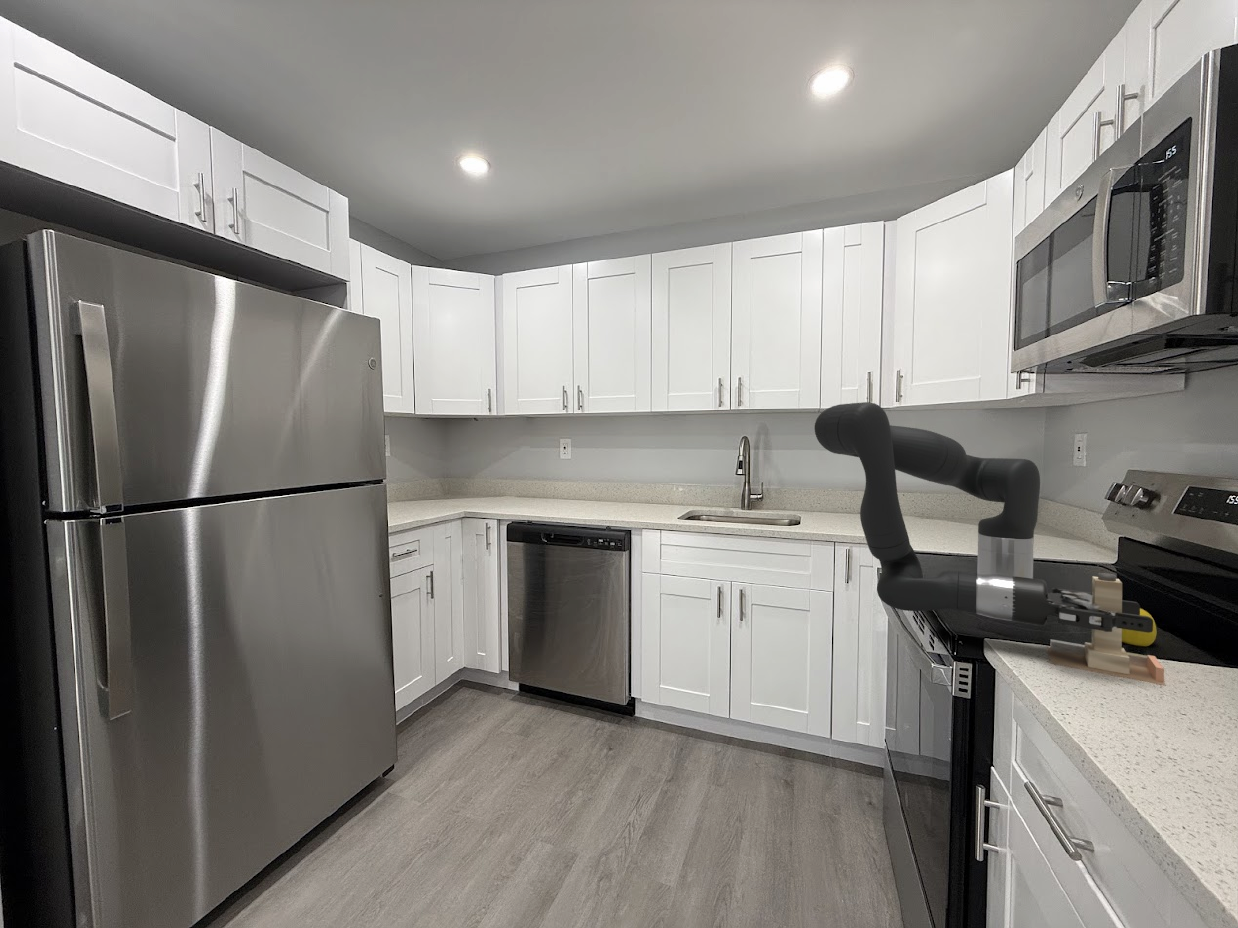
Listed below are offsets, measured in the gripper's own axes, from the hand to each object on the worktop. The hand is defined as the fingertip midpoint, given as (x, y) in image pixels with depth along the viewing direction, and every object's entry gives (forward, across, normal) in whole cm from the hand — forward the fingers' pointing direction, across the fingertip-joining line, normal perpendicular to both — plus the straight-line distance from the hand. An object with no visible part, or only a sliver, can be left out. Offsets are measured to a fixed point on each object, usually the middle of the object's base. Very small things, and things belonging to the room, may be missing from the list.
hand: (1145, 617), depth 76 cm
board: (-5, 0, +10) cm, 11 cm away
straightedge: (-5, +3, +8) cm, 10 cm away
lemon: (+1, +16, +10) cm, 19 cm away
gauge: (-4, 0, +8) cm, 9 cm away
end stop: (+1, 0, +8) cm, 9 cm away
